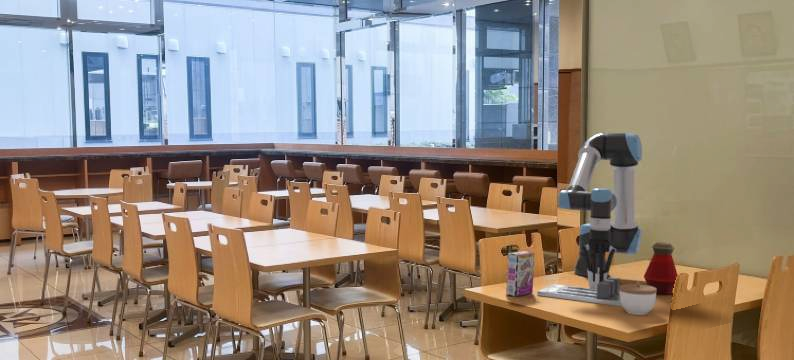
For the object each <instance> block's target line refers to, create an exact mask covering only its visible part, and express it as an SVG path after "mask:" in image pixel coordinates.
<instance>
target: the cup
mask: <svg viewBox="0 0 794 360" xmlns="http://www.w3.org/2000/svg"><path fill="white" fill-rule="evenodd" d="M597 273H599V268H598V272H597ZM607 273H608V272H607ZM607 273H604V280H605V279H608V276H607ZM587 280H588V281H587V283H588V287H589V289H595V282H593V273H592V272H591V271H588V276H587Z"/></svg>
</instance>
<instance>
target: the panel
mask: <svg viewBox="0 0 794 360" xmlns="http://www.w3.org/2000/svg"><path fill="white" fill-rule="evenodd" d="M536 294H537V295H536V296H539V297H547V298H548V297H549V298H554V299H564V300H571V301H578V302H584V303H594V304H600V305H608V306H616V307H622V305H621V302H620V292H618V293H615V294H614V295H612V296H610V297H609V298H608V299H607V298H599V297H597V291H595V289H592V288H590V287H589V288H588V287H587V288H586V287H581V286H571V285H563V284H555V283H554V284H551V285H548V286H546V287H544V288H542V289H538V290H537V293H536Z"/></svg>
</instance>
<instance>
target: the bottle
mask: <svg viewBox="0 0 794 360" xmlns="http://www.w3.org/2000/svg"><path fill="white" fill-rule="evenodd" d="M652 250H653V253H654V254H653V255H652V257H651V258H650V259H651V260H650V262H649V264H648V265H647V268H646V270H645V272H644V274H643V277H644V281H645V282H646V285H648V286H652V287H655V288H656V289H657V292H656V295H658V296H660V295H661V296H662V295H663V296H670V295H671V294H672V293H673V292H674V290H673V288H674V284H675V280H676V277H677V276H678V277H679V275H678V271H677V268H676V265H675V262H674V259H673V255H672V254H673V252H674V250H675V247H674V246H673V244H671V243H670V242H667V241H666V242H665V241H657V242H655V243H654V244H653V245H652ZM674 289H675V288H674Z"/></svg>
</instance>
